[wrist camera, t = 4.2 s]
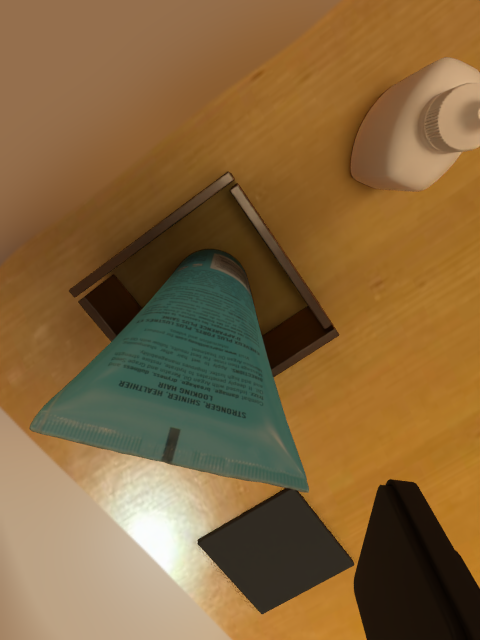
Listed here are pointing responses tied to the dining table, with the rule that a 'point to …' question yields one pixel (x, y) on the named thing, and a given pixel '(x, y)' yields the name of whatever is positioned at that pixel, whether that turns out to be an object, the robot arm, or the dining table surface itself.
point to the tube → (186, 383)
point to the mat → (276, 550)
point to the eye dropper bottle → (419, 128)
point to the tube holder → (280, 343)
